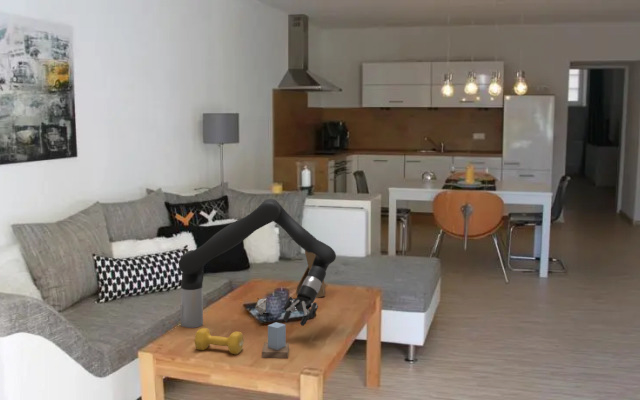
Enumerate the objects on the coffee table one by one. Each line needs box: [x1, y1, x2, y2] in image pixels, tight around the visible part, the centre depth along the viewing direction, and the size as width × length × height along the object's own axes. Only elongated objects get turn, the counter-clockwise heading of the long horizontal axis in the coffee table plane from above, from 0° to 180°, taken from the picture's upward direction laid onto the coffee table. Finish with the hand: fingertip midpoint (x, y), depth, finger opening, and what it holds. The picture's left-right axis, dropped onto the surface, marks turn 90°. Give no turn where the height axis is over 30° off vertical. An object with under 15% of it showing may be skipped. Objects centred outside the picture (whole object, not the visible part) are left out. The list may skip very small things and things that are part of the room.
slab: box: [261, 342, 290, 359], centre depth 265 cm, size 10×10×3 cm
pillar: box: [267, 321, 287, 350], centre depth 264 cm, size 5×5×9 cm
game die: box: [253, 297, 267, 315], centre depth 311 cm, size 9×8×10 cm
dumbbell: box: [194, 327, 245, 355], centre depth 267 cm, size 19×9×8 cm, turn 74°
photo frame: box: [295, 250, 326, 299], centre depth 348 cm, size 15×22×25 cm
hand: (293, 322), depth 273 cm, fingers open, 8 cm apart
